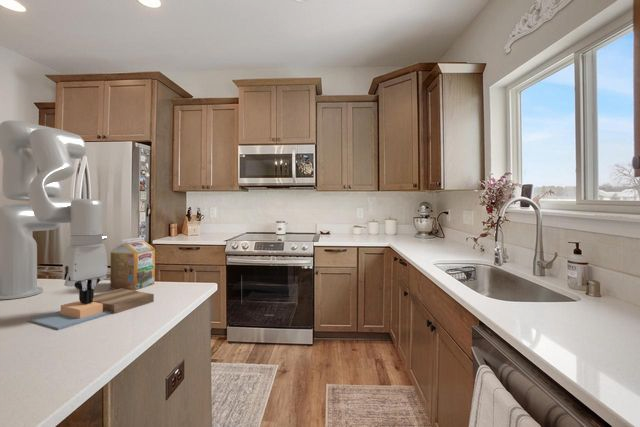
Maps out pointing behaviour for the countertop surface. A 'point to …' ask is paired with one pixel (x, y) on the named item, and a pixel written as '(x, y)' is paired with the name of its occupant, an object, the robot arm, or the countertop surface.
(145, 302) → the stand
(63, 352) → the countertop surface
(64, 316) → the mat
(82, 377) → the countertop surface
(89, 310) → the tile
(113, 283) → the milk carton
